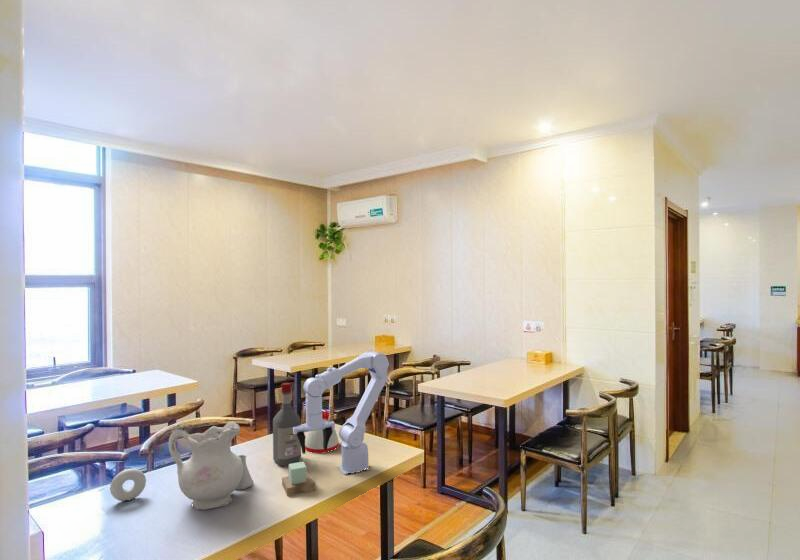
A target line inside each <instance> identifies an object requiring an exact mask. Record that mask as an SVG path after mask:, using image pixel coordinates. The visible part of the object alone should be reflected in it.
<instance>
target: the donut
mask: <svg viewBox="0 0 800 560" xmlns="http://www.w3.org/2000/svg"><path fill="white" fill-rule="evenodd" d="M127 481H132V482H133V483H134V484H133V486H132V487H131V488H129V489H125V488H123V487H124V486H123V485H124V483H125V482H127ZM146 483H147V478H146V475H145V473H144V472H143V471H141V470H140V469H137V468H128V469H124V470H121V471H120V472H119V473H117V474H116V475H115V476H114V477H113V478H112V481H111V483H110V486H109V487H110V488H109V491H110V494H111V496H112V497H113V498H114V499H115V500H117V501H120V502H125V501H124V500H129V499H132V500H134V499H136V498H137V497H139V496H140V495H141V494H142V493H143V492H144V489H145V487H146ZM135 497H136V498H135ZM133 498H134V499H133ZM129 501H130V500H129Z"/></svg>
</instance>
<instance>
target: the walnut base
mask: <svg viewBox="0 0 800 560" xmlns="http://www.w3.org/2000/svg"><path fill="white" fill-rule="evenodd" d="M281 485H282V488H283V490H284V493H285V494H286V497H287V496H288V497H289V496H294V495H299V494H303V493H308V492H313V491H314V492H315V491H316V490H315V482H314V479H313V478H312V476H311V475H310V473H309V472H307V482H303V483H298V484H293V485H291V483H290V480H289V475H288V476H282V477H281Z"/></svg>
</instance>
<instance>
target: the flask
mask: <svg viewBox="0 0 800 560" xmlns="http://www.w3.org/2000/svg"><path fill="white" fill-rule="evenodd" d="M238 456H239V457H240V458H241V460H242V463H243V476H242V479H241V481H240V483H239V485H238V486H237V488H236V489H235V491H236V490H237V491H238V490H246V489H249V487H252V486H253V484H254V480H253V478H252V476H251V474H250V471H249V469H248V465H247V460H246V458H247V455H246V454H239V455H238Z"/></svg>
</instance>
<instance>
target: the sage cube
mask: <svg viewBox="0 0 800 560" xmlns="http://www.w3.org/2000/svg"><path fill="white" fill-rule="evenodd" d="M307 473H308V472H307V466H306V464H305V462H304V461H299V462H298V463H292V464H289V466H288V476H289V480H290V483H291V485H293V484H298V483H303V482H307Z"/></svg>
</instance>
